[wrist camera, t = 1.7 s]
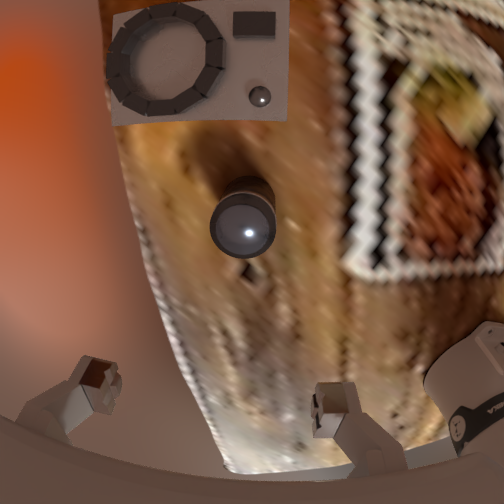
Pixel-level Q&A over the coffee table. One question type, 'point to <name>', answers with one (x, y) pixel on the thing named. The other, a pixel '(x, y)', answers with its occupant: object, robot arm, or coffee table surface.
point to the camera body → (200, 62)
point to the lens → (244, 218)
